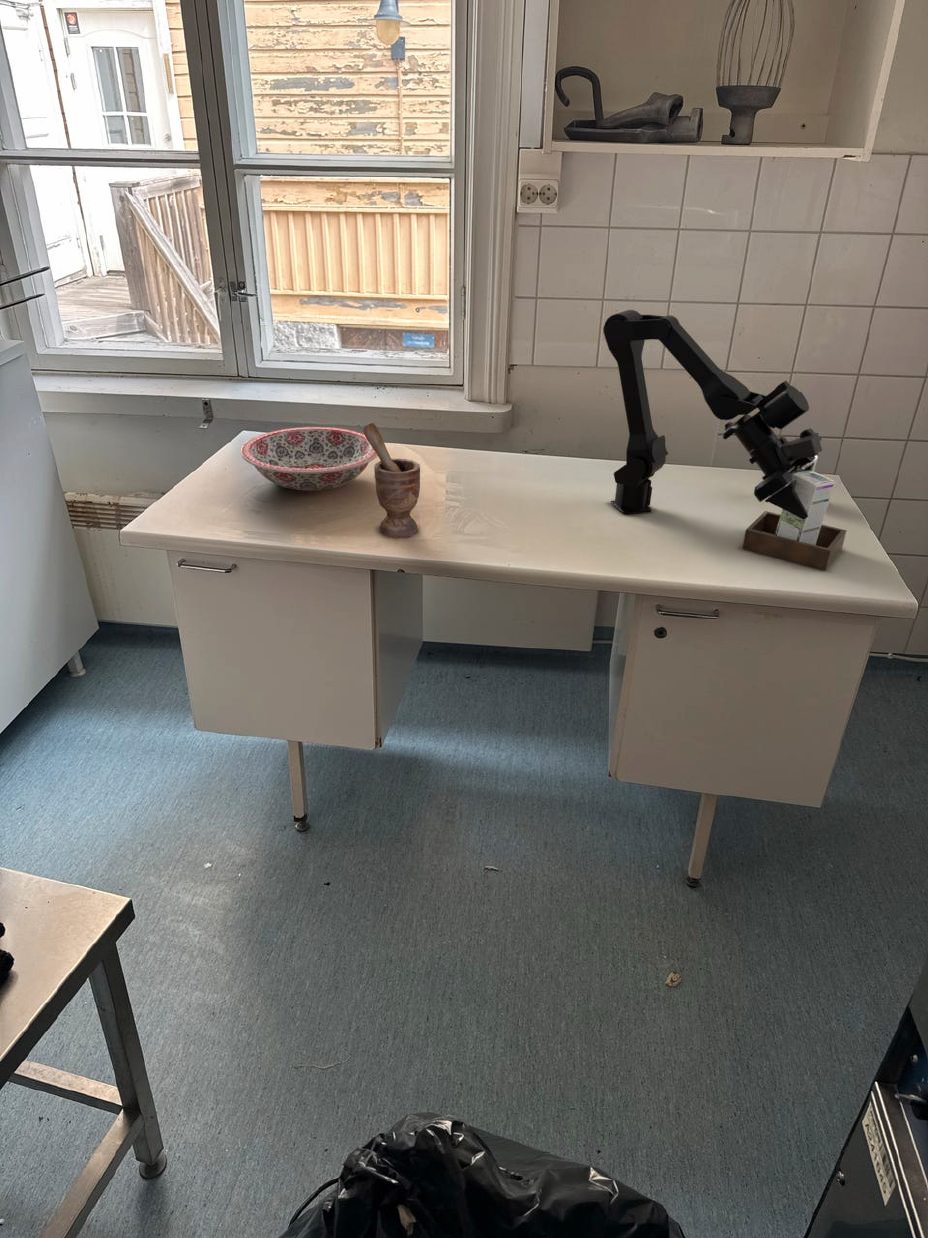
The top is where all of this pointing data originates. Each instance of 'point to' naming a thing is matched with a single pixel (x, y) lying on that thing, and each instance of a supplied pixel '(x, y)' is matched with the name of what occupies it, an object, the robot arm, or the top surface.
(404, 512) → the mortar and pestle
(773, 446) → the robot arm
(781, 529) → the syrup box
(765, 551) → the crate
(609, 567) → the top surface
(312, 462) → the ceramic bowl
